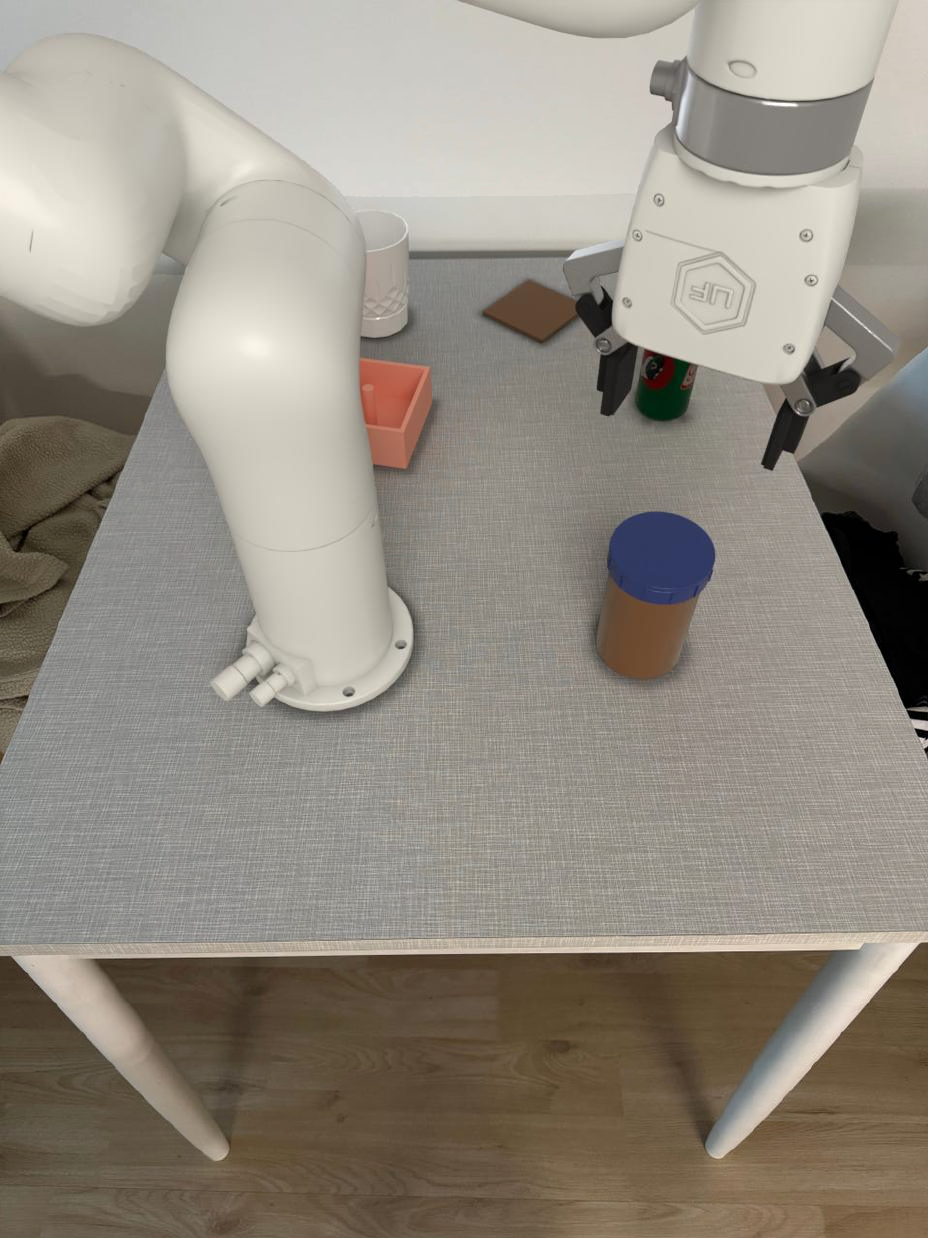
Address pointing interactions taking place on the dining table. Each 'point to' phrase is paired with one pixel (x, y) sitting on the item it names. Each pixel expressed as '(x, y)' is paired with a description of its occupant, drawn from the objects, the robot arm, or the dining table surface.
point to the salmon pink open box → (394, 408)
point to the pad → (533, 311)
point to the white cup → (385, 273)
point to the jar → (641, 633)
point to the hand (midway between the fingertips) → (692, 427)
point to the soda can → (664, 386)
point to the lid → (660, 558)
